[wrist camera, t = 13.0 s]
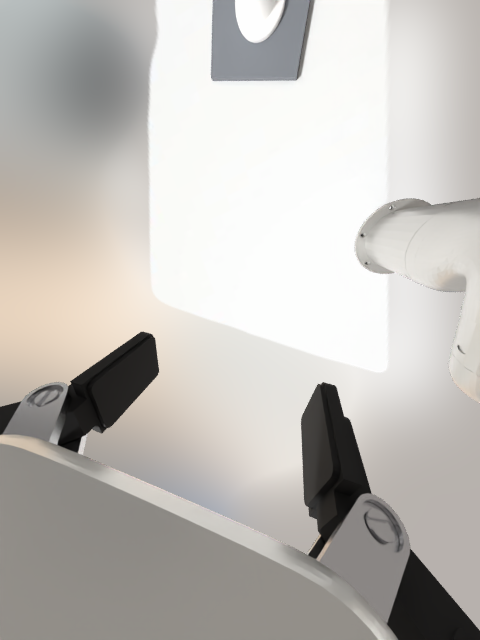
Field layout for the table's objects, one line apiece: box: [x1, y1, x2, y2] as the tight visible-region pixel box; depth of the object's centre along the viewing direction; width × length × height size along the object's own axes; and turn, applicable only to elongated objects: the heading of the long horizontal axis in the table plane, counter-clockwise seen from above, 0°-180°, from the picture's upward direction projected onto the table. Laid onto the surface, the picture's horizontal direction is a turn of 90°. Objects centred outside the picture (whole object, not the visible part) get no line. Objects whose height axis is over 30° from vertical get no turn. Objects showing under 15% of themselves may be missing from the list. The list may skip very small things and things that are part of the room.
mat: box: [211, 0, 310, 81], centre depth 26 cm, size 14×14×1 cm
